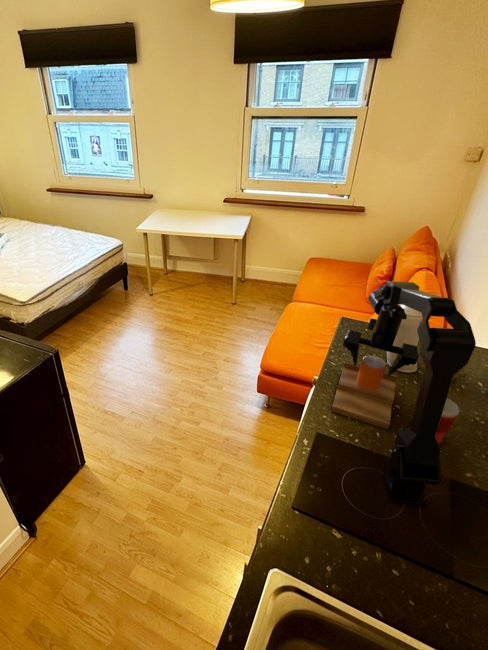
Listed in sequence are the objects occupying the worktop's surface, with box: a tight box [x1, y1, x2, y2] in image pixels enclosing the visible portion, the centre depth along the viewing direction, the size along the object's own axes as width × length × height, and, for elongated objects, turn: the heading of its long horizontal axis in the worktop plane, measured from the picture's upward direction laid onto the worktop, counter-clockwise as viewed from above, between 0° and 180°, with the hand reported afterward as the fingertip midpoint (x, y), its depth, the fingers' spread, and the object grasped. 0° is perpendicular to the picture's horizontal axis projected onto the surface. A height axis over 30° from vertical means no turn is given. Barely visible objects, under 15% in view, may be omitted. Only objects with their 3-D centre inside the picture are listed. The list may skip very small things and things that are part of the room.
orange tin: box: [356, 355, 388, 390], centre depth 110 cm, size 6×6×8 cm
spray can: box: [386, 304, 423, 373], centre depth 119 cm, size 12×11×25 cm
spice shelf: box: [330, 361, 398, 430], centre depth 110 cm, size 18×15×6 cm
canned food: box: [436, 397, 460, 445], centre depth 98 cm, size 8×8×11 cm
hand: (371, 369), depth 109 cm, fingers open, 9 cm apart
